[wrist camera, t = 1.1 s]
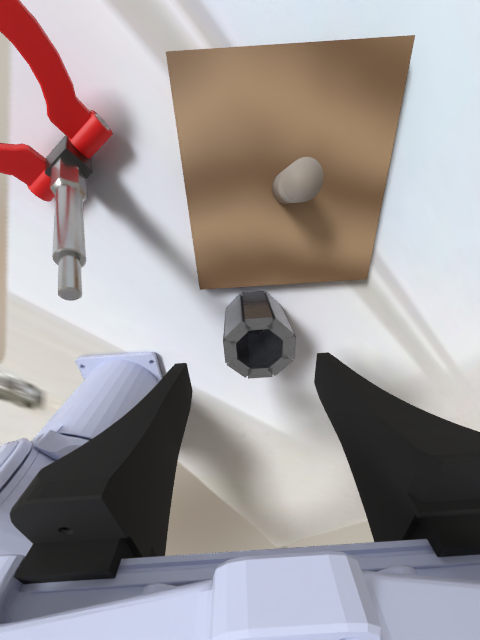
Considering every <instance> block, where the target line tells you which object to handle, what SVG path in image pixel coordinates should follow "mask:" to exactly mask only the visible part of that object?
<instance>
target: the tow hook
mask: <svg viewBox="0 0 480 640" xmlns="http://www.w3.org/2000/svg"><path fill="white" fill-rule="evenodd" d="M0 32H1V33H3V34H4V35H5V36H6V37H7V38H8V39H9V40H10V41H11V42H12V43H13V45H14V46H15V47H16V48H17V50H18V51H19V52H20V54H21V55H22V56H23V58H24V59H25V60H26V61H27V63H28V64H29V66H30V67H31V69H32V71H33V73H34V75H35V76H36V78H37V80H38V82H39V84H40V86H41V89H42V92H43V95H44V98H45V100H46V104H47V115H48V117H49V119H50V120H51V122H52V123H53V124H54V125H55V126H56V127H58V128H59V129H60V130H61V131H62V132H63V133H64V134H65V135H66V136H65V137H64V138H63V139H62V140H61V141H60V142H59V144H58V145H57V146H56V147H55V148H54V149H53V151H52V152H51V153H50V154H49V155H48V156H47V158H46V159H45V158H44V157H43V156H42V155H40V154H39V153H38V152H36V151H35V150H34V149H33V148H31V147H30V146H29V145H25V144H17V145H15V144H4V143H0V173H4V174H8V175H13V176H15V177H16V178H18V179H19V180H21V181H22V182H24V183H25V184H27V186H28V188H29V189H30V191H31V192H32V193H34V194H35V195H36V196H37V197H39V198H40V199H42V200H44V201H51V200H52V199H53V198H54V197H55V217H54V238H53V260H54V262H55V263H56V264H57V265H59V270H58V295H59V296H60V297H61V298H63V299H65V300H77V299H79V298H81V296H82V279H81V268H82V267H83V266H84V265H85V264H86V250H85V234H84V218H83V202H84V201H85V200H86V199H87V190H86V183H85V182H86V179H87V178H88V177H89V176H90V175H91V173H92V163H91V157H92V156H93V155H94V154H95V153H96V152H97V151H98V150H99V149H100V148H101V146H102V145H103V144H104V143H105V142H106V141H107V140H108V139H109V138H110V137H111V136H112V135H113V133H112V131H111V130H110V128H109V126H108V125H107V124H106V122H105V121H104V120H103V119H102V118H101V117H100V116H99V115H98V114H97V113H96V112H94V111H93V110H91V111H89V110H88V109H87V108H86V107H85V106H84V105H83V104H82V103H81V101H80V100H79V99H78V98H77V97H76V95H75V91H74V87H73V84H72V81H71V79H70V77H69V75H68V73H67V70H66V68H65V66H64V64H63V62H62V60H61V57H60V55H59V53H58V52H57V50H56V49H55V47H54V46H53V44H52V43H51V41H50V40H49V38H48V37H47V35H46V34H45V32H44V31H43V29H42V28H41V26H40V25H39V23H38V22H37V20H36V19H35V17H34V16H33V15H32V14H31V13H30V12H29V11H28V10H27V8H26V7H25V6H24V5H23V4H22V3H21V2H20V1H19V0H0Z"/></svg>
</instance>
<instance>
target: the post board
mask: <svg viewBox="0 0 480 640" xmlns="http://www.w3.org/2000/svg"><path fill="white" fill-rule="evenodd" d="M414 38H415V35H411V36H396V37H381V38H365V39H350V40H335V41H320V42H305V43H290V44H275V45H259V46H244V47H229V48H214V49H199V50H184V51H169V52H166V56H167V63H168V70H169V77H170V84H171V91H172V98H173V105H174V112H175V119H176V126H177V133H178V140H179V147H180V154H181V161H182V168H183V175H184V182H185V189H186V196H187V203H188V210H189V217H190V224H191V231H192V238H193V245H194V252H195V259H196V266H197V273H198V280H199V287H200V290H201V289H217V288H233V287H248V286H264V285H280V284H296V283H312V282H327V281H343V280H359V279H367V276H368V271H369V266H370V261H371V256H372V251H373V246H374V241H375V236H376V231H377V226H378V221H379V215H380V210H381V205H382V200H383V195H384V190H385V185H386V180H387V175H388V170H389V165H390V160H391V155H392V150H393V145H394V140H395V135H396V129H397V124H398V119H399V114H400V109H401V104H402V99H403V94H404V89H405V84H406V79H407V74H408V69H409V64H410V59H411V54H412V48H413V43H414Z"/></svg>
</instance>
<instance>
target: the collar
mask: <svg viewBox="0 0 480 640" xmlns="http://www.w3.org/2000/svg"><path fill="white" fill-rule="evenodd" d="M263 329H265V330H263ZM249 330H263V331H262V332H261V333H247V332H248V331H249ZM295 339H296V336H295V334H294V332H293V330H292V328H291V326H290V324H289V322H288V320H287V318H286V316H285V313H284V311H283V309H282V307H281V305H280V304H279V303H278V302H277V301H276V300H274V299H273V298H272V297H271V296H270V295H269V294H268V293H266V292H265V293H264V292H263V291H255V292H242V295H241V294H239V295H238V296H237V297H236V298H235V299H234V300H233V301H232V302H231V304H230V305H229V306H228V307H227V308H226V311H225V324H224V336H223V345H224V354H225V363H227V365H228V366H229V367H231V368H232V369H234V370H235V371H236V372H238V373H239V374H241V375H242V376H244V377H245V378H246V377H247V376H248V378H262V377H272V374H273V375H277V374H278V373H279V372H280V371H281V370H283V369H284V368H285V367H286V366H287V365H289V364H290V363H291V362H292V361H293V360H292V358H294V355H295Z"/></svg>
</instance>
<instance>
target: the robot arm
mask: <svg viewBox="0 0 480 640" xmlns="http://www.w3.org/2000/svg"><path fill="white" fill-rule="evenodd" d="M150 360H153V361H154V362H151V361H150ZM76 364H77V366H78V368H79V370H80V372H81V374H82V376H83V379H84V381H83V382H82V383H81V384H80V386H79V387H78V388H77V389H76V390H75V391H74V392H73V394H72V395H71V396H70V397H69V398H68V399H67V400H66V402H65V403H64V404H63V405H62V406H61V407H60V409H59V410H58V411H57V412H56V413H55V414H54V415H53V417H52V418H51V419H50V420H49V421H48V422H47V423H46V425H45V426H44V427H43V428H42V429H41V430H40V431H39V433H38V434H37V435H36V436H35V437H34V438H33V439H32V441H31V442H30V441H29V440H28V439H26V438H21V439H18V440H17V441H12V442H8V443H5V444H3V445H1V446H0V640H480V432H478V431H475V430H472V429H469V428H466V427H463V426H460V425H458V424H455V423H453V422H450V421H447V420H445V419H442V418H440V417H437V416H435V415H433V414H430V413H428V412H426V411H423V410H421V409H419V408H417V407H415V406H413V405H411V404H408V403H406V402H404V401H402V400H401V399H399V398H397V397H395V396H393V395H391V394H389V393H388V392H386V391H384V390H382V389H381V388H379V387H377V386H376V385H374V384H373V383H371V382H369V381H368V380H366V379H365V378H363V377H362V376H360V375H359V374H357V373H356V372H355V371H353V370H352V369H350V368H349V367H348V366H346V365H345V364H343V363H342V362H341V361H339V360H338V359H337V358H335V357H334V356H333V355H331V354H330V353H317V360H316V370H315V380H314V383H315V386H316V389H317V392H318V395H319V398H320V400H321V403H322V405H323V407H324V409H325V411H326V413H327V415H328V417H329V419H330V421H331V423H332V425H333V427H334V429H335V431H336V433H337V435H338V438H339V440H340V442H341V444H342V447H343V449H344V452H345V455H346V457H347V460H348V463H349V465H350V468H351V471H352V474H353V477H354V480H355V482H356V485H357V488H358V491H359V494H360V497H361V500H362V503H363V506H364V509H365V512H366V516H367V519H368V522H369V525H370V528H371V532H372V535H373V538H374V542H373V543H356V544H343V545H342V544H341V545H326V546H311V547H296V548H280V549H266V550H250V551H236V552H219V553H205V554H191V555H190V554H189V555H174V556H165V550H166V540H167V531H168V523H169V515H170V507H171V499H172V493H173V492H172V491H173V486H174V479H175V472H176V466H177V460H178V455H179V450H180V446H181V442H182V438H183V435H184V431H185V427H186V423H187V419H188V415H189V411H190V407H191V399H192V387H191V382H190V377H189V373H188V368H187V364H186V363H179V364H175V365H174V366H173V367H172V368H171V369H170V370H169V371H168V372H167V374H166V375H165V376H164V377H163V378H162V375H161V371H160V367H159V363H158V360H157V356H156V354H155V353H153V352H144V353H128V354H112V355H96V356H81V357H78V358H77V359H76ZM83 365H84V366H83Z"/></svg>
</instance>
